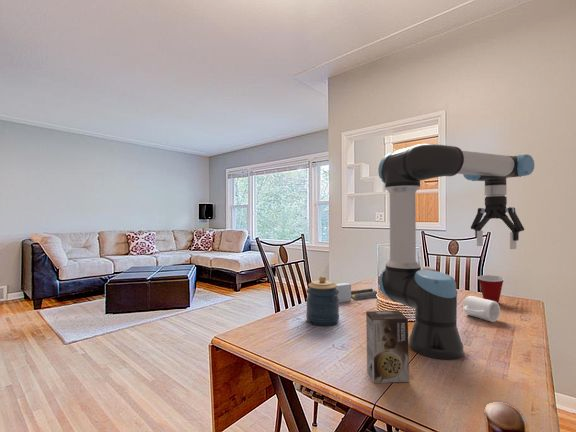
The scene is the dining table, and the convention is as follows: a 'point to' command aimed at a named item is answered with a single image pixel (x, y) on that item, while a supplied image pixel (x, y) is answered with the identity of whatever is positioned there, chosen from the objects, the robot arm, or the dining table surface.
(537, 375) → the dining table surface
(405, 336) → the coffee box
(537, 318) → the dining table surface
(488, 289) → the plastic cup
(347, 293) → the white rectangular block
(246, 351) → the dining table surface
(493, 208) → the robot arm
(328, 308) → the canister
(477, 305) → the mug
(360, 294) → the grey rectangular tray
